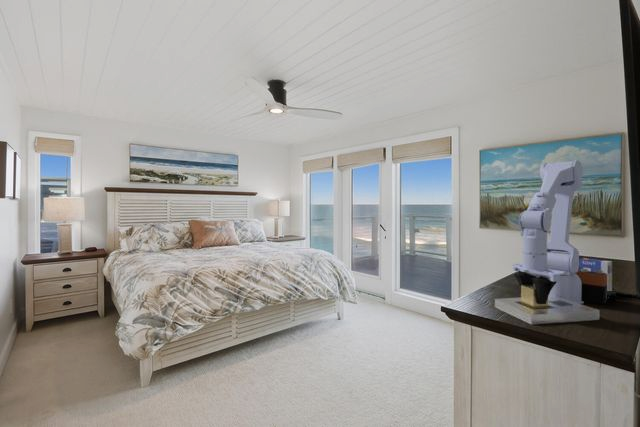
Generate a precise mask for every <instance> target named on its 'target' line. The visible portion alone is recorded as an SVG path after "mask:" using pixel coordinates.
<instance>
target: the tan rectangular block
mask: <svg viewBox="0 0 640 427" xmlns="http://www.w3.org/2000/svg"><path fill="white" fill-rule="evenodd" d="M520 297H521V305H523V306H525V307H528V308H530V309H532V310H536V309H548V299H547V302H546V304H538V303H537V298H536V289H535V285H534V284H533V285H521V288H520Z"/></svg>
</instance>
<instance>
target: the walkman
mask: <svg viewBox="0 0 640 427" xmlns="http://www.w3.org/2000/svg"><path fill="white" fill-rule="evenodd" d="M581 269H588V271H592V272H595V271H594V270H602V271H603V272H601V273H606V274H607V291H613V261H612V260H604V259H603V260H602V259H595V258H594V259H593V258H585V257H583V258H579V271H580V270H581Z"/></svg>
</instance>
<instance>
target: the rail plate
mask: <svg viewBox="0 0 640 427" xmlns="http://www.w3.org/2000/svg"><path fill="white" fill-rule="evenodd" d="M494 308H496V309H498V310H500V311H502V312H504V313H506V314H508V315H509V316H512V317H515V318H517V319H519V320H522V321H523V322H524V323H525V322H526V323H527V324H529V325H544V324H557V323H571V322H585V321H586V322H587V321H598V320H600V310H599V309H598V308H594V307H591V306H587V305H584V304H583V303H580V304H579V303H576V302H573V301H570V300H567V299H564V298H561V297H558V296H555V295H554V296H548V309H536V310H532V309H530V308H528V307H525V306H523V305H521V296H520V297H507V298H504V297H503V298H494Z"/></svg>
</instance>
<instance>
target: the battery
mask: <svg viewBox="0 0 640 427" xmlns="http://www.w3.org/2000/svg"><path fill="white" fill-rule="evenodd" d="M594 271H595V272H592V271H588V269H581V270H580V269H579V270H578V272H576V275H578V276H579V278H580V279H581V283H582V293H581V301H583V302H584V303H585V302H586V303H592V304H598V305H605V304H606V303H607V301H608V298H607V274H606V273H601V272H603V271H602V270H594Z"/></svg>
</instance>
